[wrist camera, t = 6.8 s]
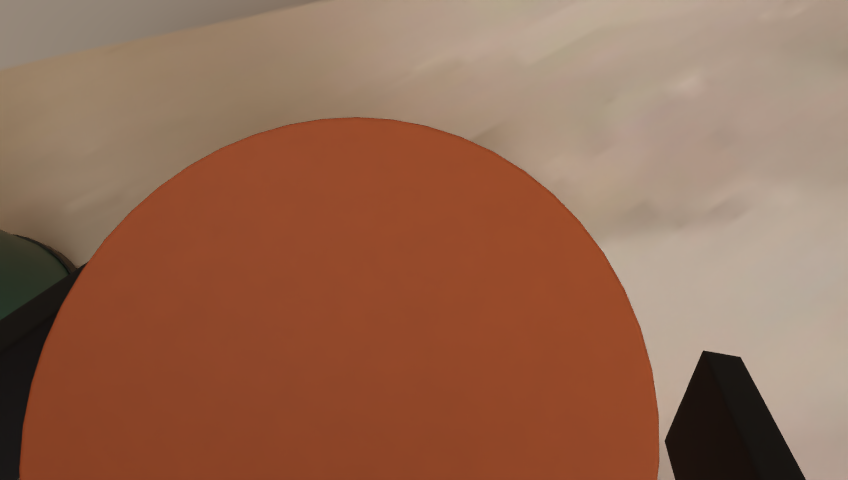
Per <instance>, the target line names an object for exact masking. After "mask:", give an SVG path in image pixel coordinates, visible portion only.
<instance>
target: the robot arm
mask: <svg viewBox="0 0 848 480" xmlns="http://www.w3.org/2000/svg"><path fill="white" fill-rule="evenodd" d="M87 263H88V262H87ZM87 263H86V264H87ZM86 264H84V265H83V266H81V267H80V268H78V269H77V270H75V271H73V272H72V273H70V274H69V275H67V276H66V277H64V278H63V279H61V280H60V281H58V282H57V283H55V284H54V285H52V286H51V287H49V288H48V289H46V290H45V291H43V292H42V293H40V294H39V295H37V296H36V297H34V298H33V299H31V300H30V301H28V302H27V303H25V304H24V305H22V306H21V307H19V308H18V309H16V310H15V311H13V312H12V313H10V314H9V315H7V316H6V317H4V318H3V319H1V320H0V480H18V479H19V478H20V473H19V467H20V455H21V443H22V431H23V423H24V418H25V413H26V408H27V403H28V398H29V393H30V388H31V383H32V380H33V377H34V374H35V371H36V368H37V364H38V361H39V358H40V355H41V352H42V349H43V346H44V343H45V341H46V338H47V336H48V334H49V332H50V330H51V327H52V325H53V323H54V321H55V318H56V316H57V314H58V312H59V310H60V307H61V305H62V304H63V302H64V300H65V298H66V297H67V295H68V293H69V292H70V290H71V288H72V287H73V285H74V283H75V281H76V280H77V278H78V276H79V275H80V273H81V271H82V270H83V268H84V267H85V266H86ZM665 444H666V448H667V451H668V455H669V458H670V462H671V466H672V469H673V473H674V476H675V480H806V479H805V477H804V475H803V474H802V472H801V470H800V468H799V466H798V464H797V462H796V460H795V459H794V457H793V455H792V453H791V451H790V449H789V447H788V445H787V444H786V442H785V440H784V438H783V436H782V434H781V432H780V430H779V429H778V427H777V425H776V423H775V421H774V419H773V417H772V415H771V413H770V412H769V410H768V408H767V406H766V404H765V402H764V400H763V398H762V397H761V395H760V393H759V391H758V389H757V387H756V385H755V383H754V382H753V380H752V378H751V376H750V374H749V372H748V370H747V368H746V367H745V365H744V363H743V361H742V359H741V357H736V356H731V355H725V354H720V353H714V352H708V351H703V352H702V354H701V357H700V359H699V361H698V364H697V366H696V368H695V371H694V373H693V375H692V378H691V380H690V382H689V385H688V387H687V390H686V392H685V394H684V397H683V399H682V401H681V404H680V406H679V408H678V411H677V413H676V415H675V418H674V420H673V422H672V425H671V427H670V429H669V432H668V434H667V436H666V439H665Z"/></svg>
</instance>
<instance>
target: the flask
mask: <svg viewBox="0 0 848 480" xmlns="http://www.w3.org/2000/svg"><path fill="white" fill-rule="evenodd" d="M75 270H77V269H76V268H75V266H74V265H73V264H72V263H71V262H70V261H69V260H68V259H67V258H66V257H65V256H63V255H62V254H61V253H59V252H58V251H56V250H55V249H53V248H51V247H50V246H47V245H45V244H42V243H40V242H37V241H35V240H32V239H30V238H27V237H23V236H19V235H14V234H10V233H7V232H5V231H2V230H0V320H1V319H3V318H4V317H6V316H7V315H9V314H10V313H12V312H13V311H15V310H16V309H18V308H19V307H21V306H22V305H24V304H25V303H27V302H28V301H30V300H31V299H33V298H34V297H36V296H37V295H39V294H40V293H42V292H43V291H45V290H46V289H48V288H49V287H51V286H52V285H54V284H55V283H57V282H58V281H60V280H61V279H63V278H64V277H66V276H67V275H69V274H70V273H72V272H73V271H75Z"/></svg>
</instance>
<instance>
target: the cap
mask: <svg viewBox="0 0 848 480" xmlns="http://www.w3.org/2000/svg"><path fill="white" fill-rule="evenodd" d="M658 467H659V417H658V408H657V401H656V394H655V387H654V380H653V373H652V368H651V364H650V361H649V357H648V353H647V350H646V346H645V343H644V339H643V335H642V332H641V328H640V326H639V323H638V321H637V318H636V316H635V314H634V311H633V309H632V306H631V304H630V302H629V299H628V297H627V294H626V292H625V290H624V288H623V286H622V284H621V282H620V281H619V279H618V277H617V275H616V274H615V272H614V270H613V268H612V267H611V265H610V263H609V261H608V260H607V258H606V256H605V254H604V253H603V252H602V250H601V249H600V248H599V246H598V245H597V244H596V242H595V241H594V240H593V238H592V237H591V236H590V234H589V233H588V232H587V230H586V229H585V228H584V226H583V225H582V224H581V222H580V221H579V220H578V219H577V218H576V217H575V216H574V215H573V214H572V213H571V212H570V211H569V210H568V209H567V208H566V207H565V206H564V205H563V204H562V203H561V202H560V201H559V200H558V199H557V198H556V197H555V196H554V194H552V193H551V192H550V191H549V190H547V189H546V188H545V187H544V186H542V185H541V184H540V183H539V182H537V181H536V180H535V179H534V178H532V177H531V176H530V175H529V174H527V173H526V172H525V171H524V170H522V169H520V168H519V167H517V166H515V165H514V164H512V163H511V162H509V161H507V160H506V159H504V158H502V157H501V156H499V155H498V154H496V153H494V152H493V151H490V150H488V149H486V148H484V147H482V146H479V145H477V144H475V143H473V142H471V141H469V140H466V139H464V138H462V137H460V136H456V135H453V134H450V133H447V132H444V131H441V130H437V129H434V128H431V127H428V126H424V125H418V124H413V123H408V122H402V121H397V120H390V119H375V118H360V117H354V118H334V119H320V120H314V121H308V122H302V123H296V124H290V125H286V126H282V127H279V128H275V129H272V130H268V131H265V132H261V133H258V134H255V135H252V136H250V137H247V138H245V139H242V140H240V141H237V142H235V143H233V144H230V145H228V146H225V147H223V148H221V149H219V150H217V151H215V152H213V153H212V154H210V155H208V156H206V157H204V158H202V159H201V160H199V161H197V162H195V163H193V164H191V165H190V166H188V167H187V168H185V169H184V170H182V171H181V172H180V173H178V174H177V175H175V176H174V177H172V178H171V179H170V180H168V181H167V182H165V183H164V184H162V185H161V186H160V187H158V188H157V189H156V190H155V191H154V192H153V193H152V194H150V195H149V196H148V197H147V198H146V199H145V200H143V201H142V202H141V203H140V204H139V205H138V206H137V207H135V208H134V209H133V210H132V211H131V212H130V213H129V214H128V215H127V216H126V217H125V218H124V220H123V221H122V222H121V223H120V224H119V225H118V226H117V227H116V228H115V229H114V230H113V231H112V232H111V234H110V235H109V236H108V237H107V238H106V239H105V240H104V242H103V243H102V244H101V246H100V247H99V248H98V250H97V251H96V252H95V254H94V255H93V256H92V258H91V259H90V260H89V262H88V263H87V264H86V266H85V267H84V268H83V270H82V271H81V273H80V275H79V276H78V278H77V280H76V281H75V283H74V285H73V287H72V288H71V290H70V292H69V293H68V295H67V297H66V298H65V300H64V302H63V304H62V305H61V307H60V310H59V312H58V314H57V316H56V318H55V321H54V323H53V325H52V327H51V330H50V332H49V334H48V336H47V338H46V341H45V343H44V346H43V349H42V352H41V355H40V358H39V361H38V364H37V368H36V371H35V374H34V377H33V380H32V383H31V388H30V393H29V398H28V403H27V408H26V413H25V418H24V423H23V431H22V443H21V455H20V467H19V473H20V480H657V476H658Z"/></svg>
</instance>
